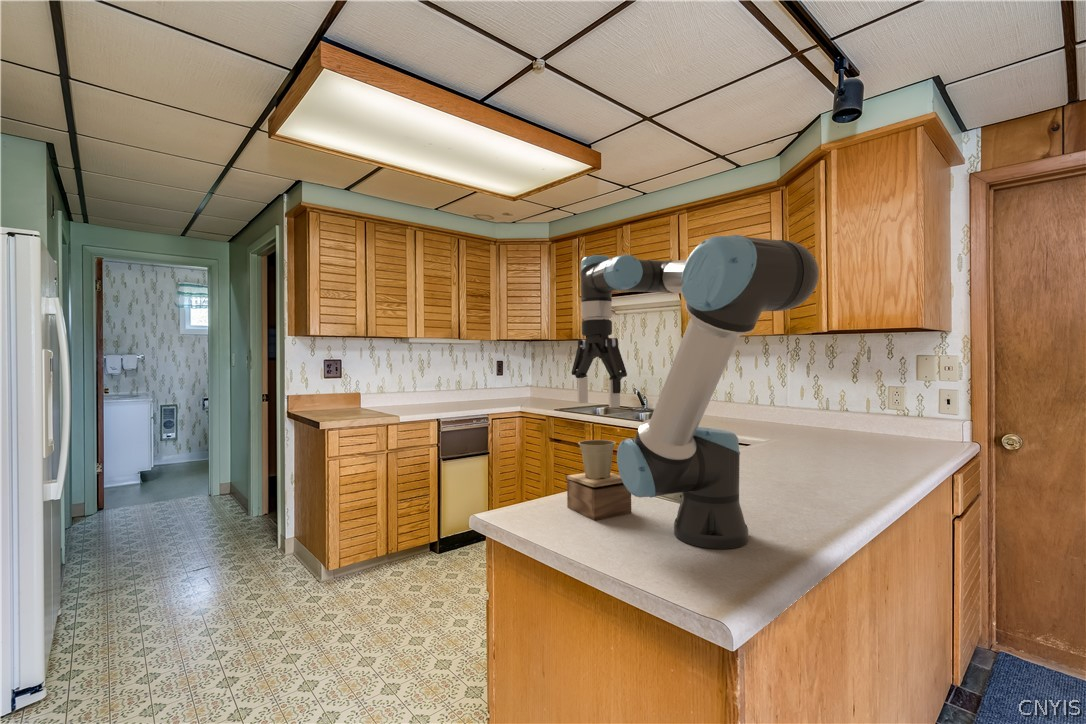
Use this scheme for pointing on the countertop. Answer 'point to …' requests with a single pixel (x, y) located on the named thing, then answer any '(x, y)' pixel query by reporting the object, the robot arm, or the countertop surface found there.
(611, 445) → the flower pot
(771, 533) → the countertop surface
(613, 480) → the lid
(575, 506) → the box
